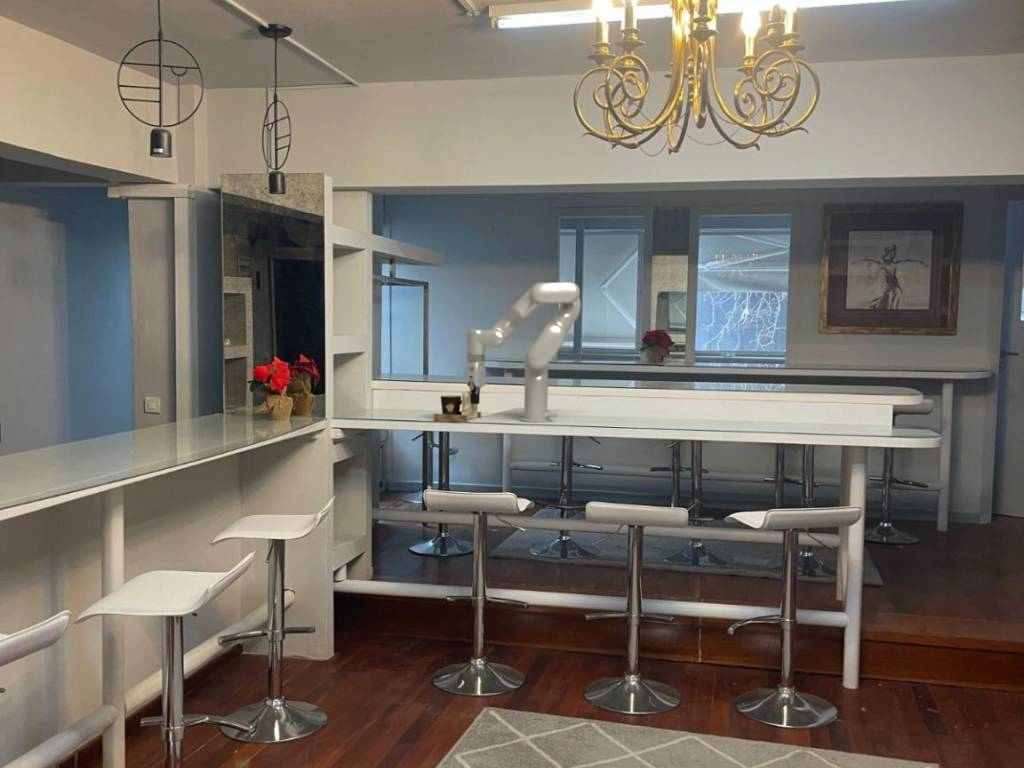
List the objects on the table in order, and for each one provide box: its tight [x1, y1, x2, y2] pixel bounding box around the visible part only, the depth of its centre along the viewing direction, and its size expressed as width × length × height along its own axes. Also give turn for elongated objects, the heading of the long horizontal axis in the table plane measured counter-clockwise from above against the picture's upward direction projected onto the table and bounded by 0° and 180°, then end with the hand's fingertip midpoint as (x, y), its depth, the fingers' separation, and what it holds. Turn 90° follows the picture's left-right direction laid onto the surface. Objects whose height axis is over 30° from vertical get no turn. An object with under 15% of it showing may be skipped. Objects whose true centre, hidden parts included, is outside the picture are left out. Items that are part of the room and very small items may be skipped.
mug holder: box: [433, 410, 482, 424], centre depth 397 cm, size 14×17×3 cm
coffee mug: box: [440, 394, 462, 415], centre depth 397 cm, size 12×9×10 cm
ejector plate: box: [461, 390, 479, 422], centre depth 395 cm, size 2×14×12 cm, turn 161°
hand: (475, 403), depth 394 cm, fingers closed
